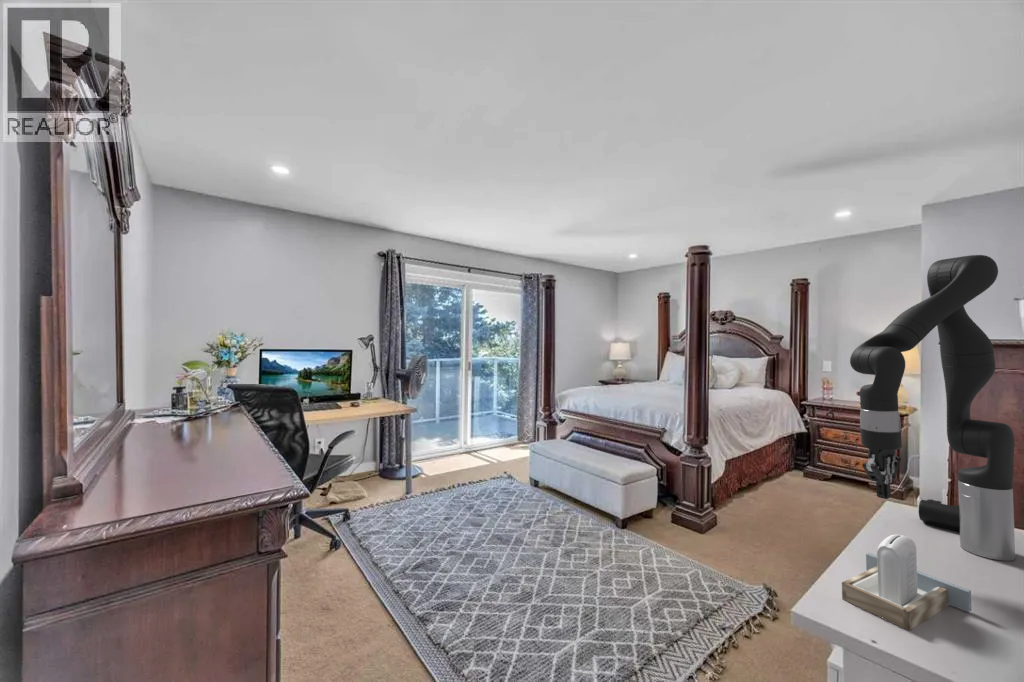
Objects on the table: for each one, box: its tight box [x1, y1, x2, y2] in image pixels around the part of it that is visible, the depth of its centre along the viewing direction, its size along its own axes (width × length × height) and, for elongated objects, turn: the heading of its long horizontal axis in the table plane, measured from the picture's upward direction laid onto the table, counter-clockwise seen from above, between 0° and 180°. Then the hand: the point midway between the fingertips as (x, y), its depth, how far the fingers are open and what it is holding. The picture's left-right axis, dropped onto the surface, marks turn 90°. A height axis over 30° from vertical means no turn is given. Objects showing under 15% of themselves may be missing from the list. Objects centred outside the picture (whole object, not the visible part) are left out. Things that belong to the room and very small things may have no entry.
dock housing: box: [841, 566, 948, 631], centre depth 87 cm, size 16×11×4 cm
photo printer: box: [876, 533, 918, 606], centre depth 87 cm, size 10×4×12 cm, turn 121°
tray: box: [852, 552, 972, 613], centre depth 87 cm, size 16×17×4 cm
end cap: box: [918, 499, 960, 532], centre depth 120 cm, size 10×7×7 cm
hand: (883, 497), depth 103 cm, fingers closed
